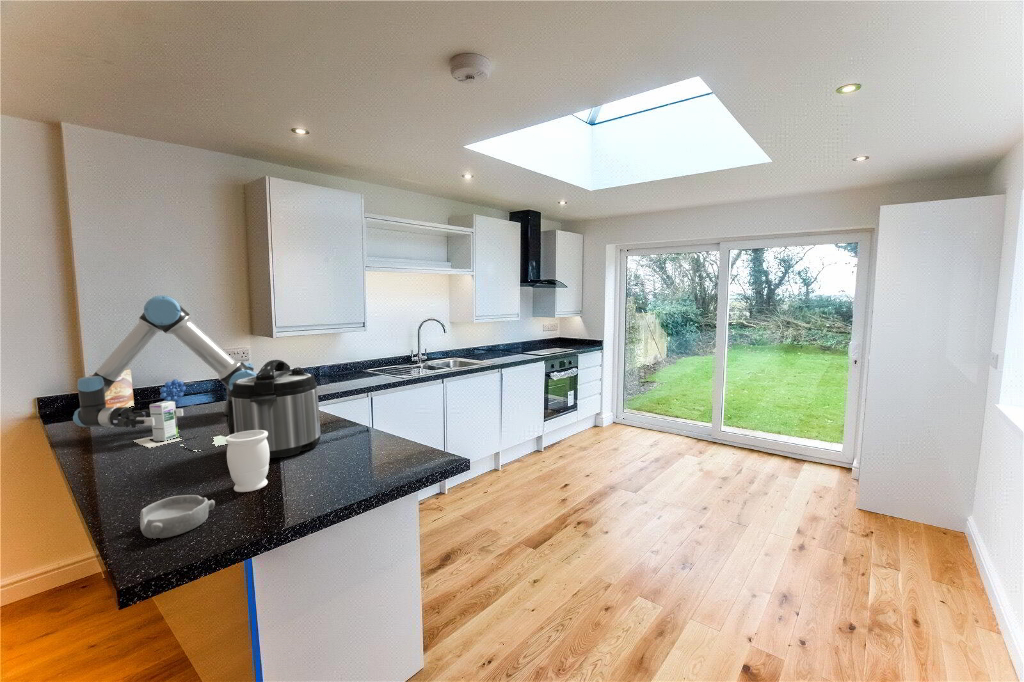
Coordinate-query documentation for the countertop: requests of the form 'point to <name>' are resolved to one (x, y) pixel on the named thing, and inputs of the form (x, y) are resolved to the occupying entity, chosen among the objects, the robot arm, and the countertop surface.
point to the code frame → (149, 444)
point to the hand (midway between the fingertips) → (168, 416)
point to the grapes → (172, 390)
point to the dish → (174, 515)
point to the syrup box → (164, 421)
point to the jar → (248, 459)
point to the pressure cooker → (277, 408)
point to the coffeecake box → (120, 391)
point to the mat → (216, 441)
